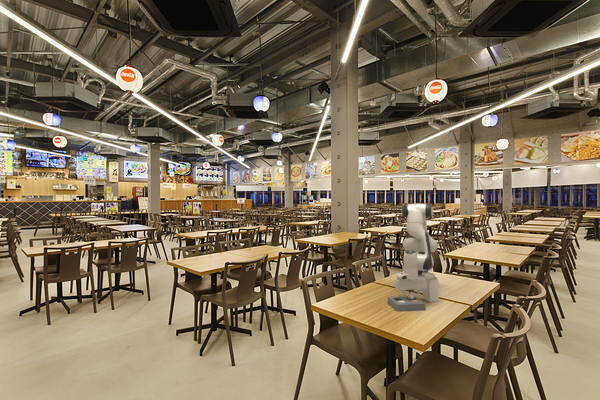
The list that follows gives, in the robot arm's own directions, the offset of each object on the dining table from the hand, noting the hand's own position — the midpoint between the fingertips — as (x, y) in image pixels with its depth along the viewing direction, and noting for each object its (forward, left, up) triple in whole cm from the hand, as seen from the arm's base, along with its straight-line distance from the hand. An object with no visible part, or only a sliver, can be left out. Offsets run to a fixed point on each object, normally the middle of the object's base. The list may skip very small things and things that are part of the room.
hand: (411, 296), depth 190 cm
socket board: (+2, -5, -6) cm, 7 cm away
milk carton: (-7, +17, -6) cm, 20 cm away
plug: (0, 0, -6) cm, 6 cm away
